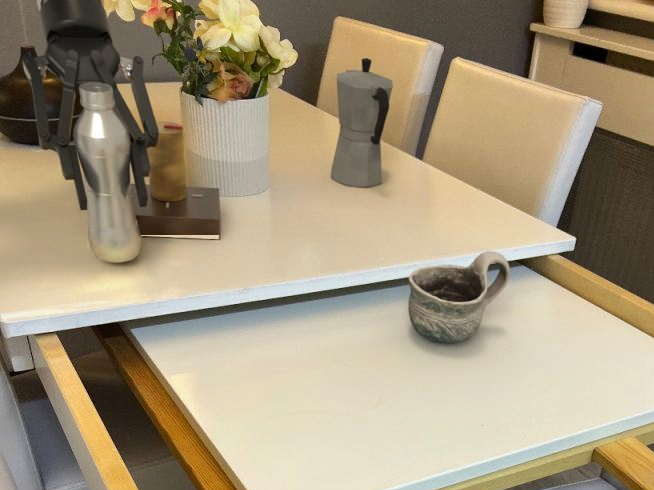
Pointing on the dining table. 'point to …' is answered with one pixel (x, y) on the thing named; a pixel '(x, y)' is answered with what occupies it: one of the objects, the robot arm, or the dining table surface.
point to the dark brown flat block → (179, 213)
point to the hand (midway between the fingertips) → (114, 203)
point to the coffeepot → (360, 126)
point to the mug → (454, 297)
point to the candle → (168, 163)
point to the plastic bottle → (106, 175)
